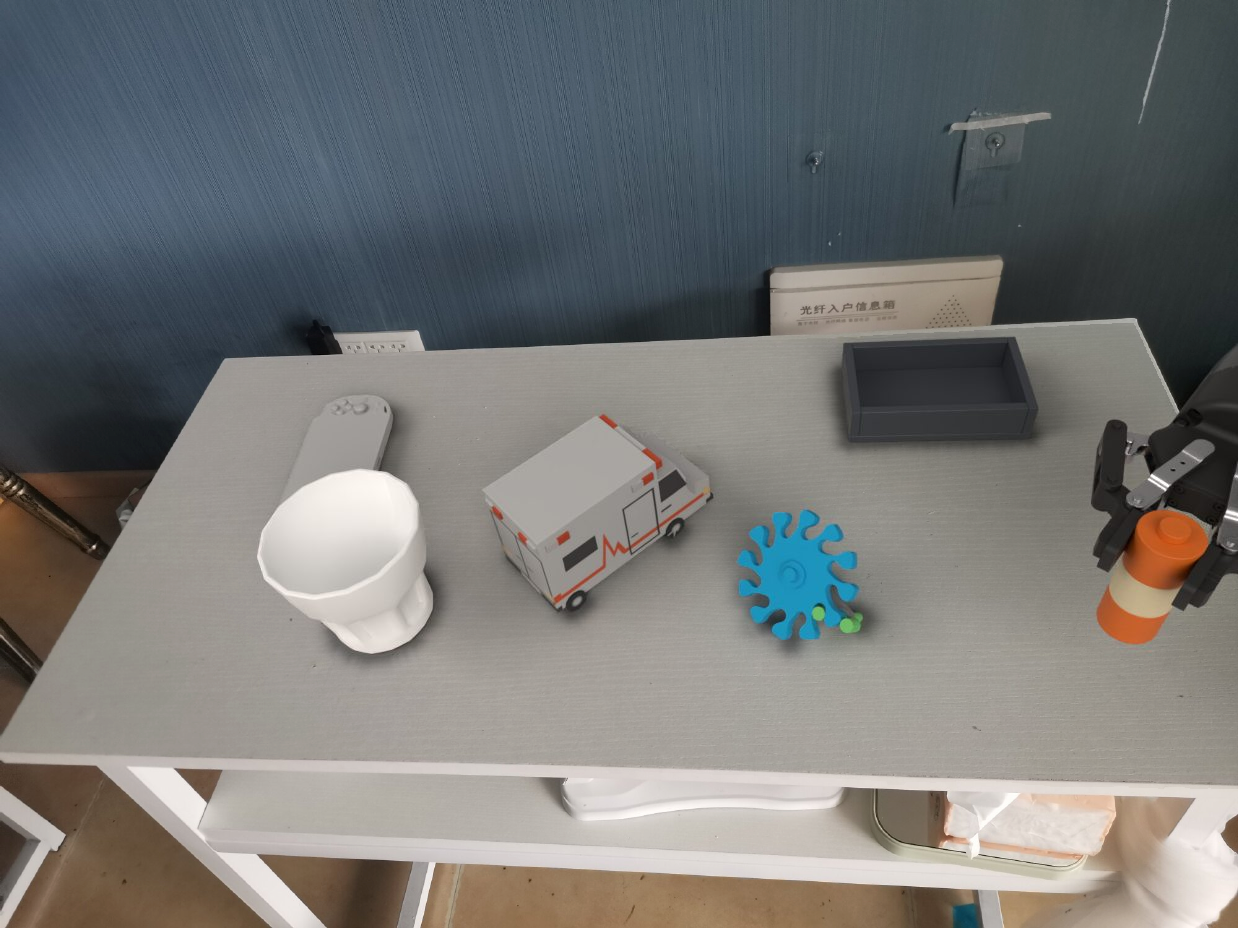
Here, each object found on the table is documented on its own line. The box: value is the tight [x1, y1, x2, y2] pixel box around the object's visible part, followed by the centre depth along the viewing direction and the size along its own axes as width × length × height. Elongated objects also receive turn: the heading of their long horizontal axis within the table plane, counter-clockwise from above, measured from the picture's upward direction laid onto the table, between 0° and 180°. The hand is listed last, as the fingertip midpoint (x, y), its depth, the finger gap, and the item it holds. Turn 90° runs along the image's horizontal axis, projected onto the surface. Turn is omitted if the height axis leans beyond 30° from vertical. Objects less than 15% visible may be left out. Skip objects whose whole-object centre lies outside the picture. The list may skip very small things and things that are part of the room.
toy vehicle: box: [481, 413, 714, 613], centre depth 73 cm, size 10×17×10 cm, turn 129°
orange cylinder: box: [1095, 509, 1208, 645], centre depth 54 cm, size 4×4×10 cm
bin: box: [840, 336, 1040, 443], centre depth 82 cm, size 16×10×4 cm, turn 85°
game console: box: [276, 394, 394, 509], centre depth 86 cm, size 18×2×8 cm
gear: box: [737, 509, 864, 641], centre depth 69 cm, size 11×6×10 cm
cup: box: [256, 469, 434, 655], centre depth 71 cm, size 12×12×11 cm
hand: (1144, 579), depth 50 cm, fingers closed on orange cylinder, 3 cm apart
